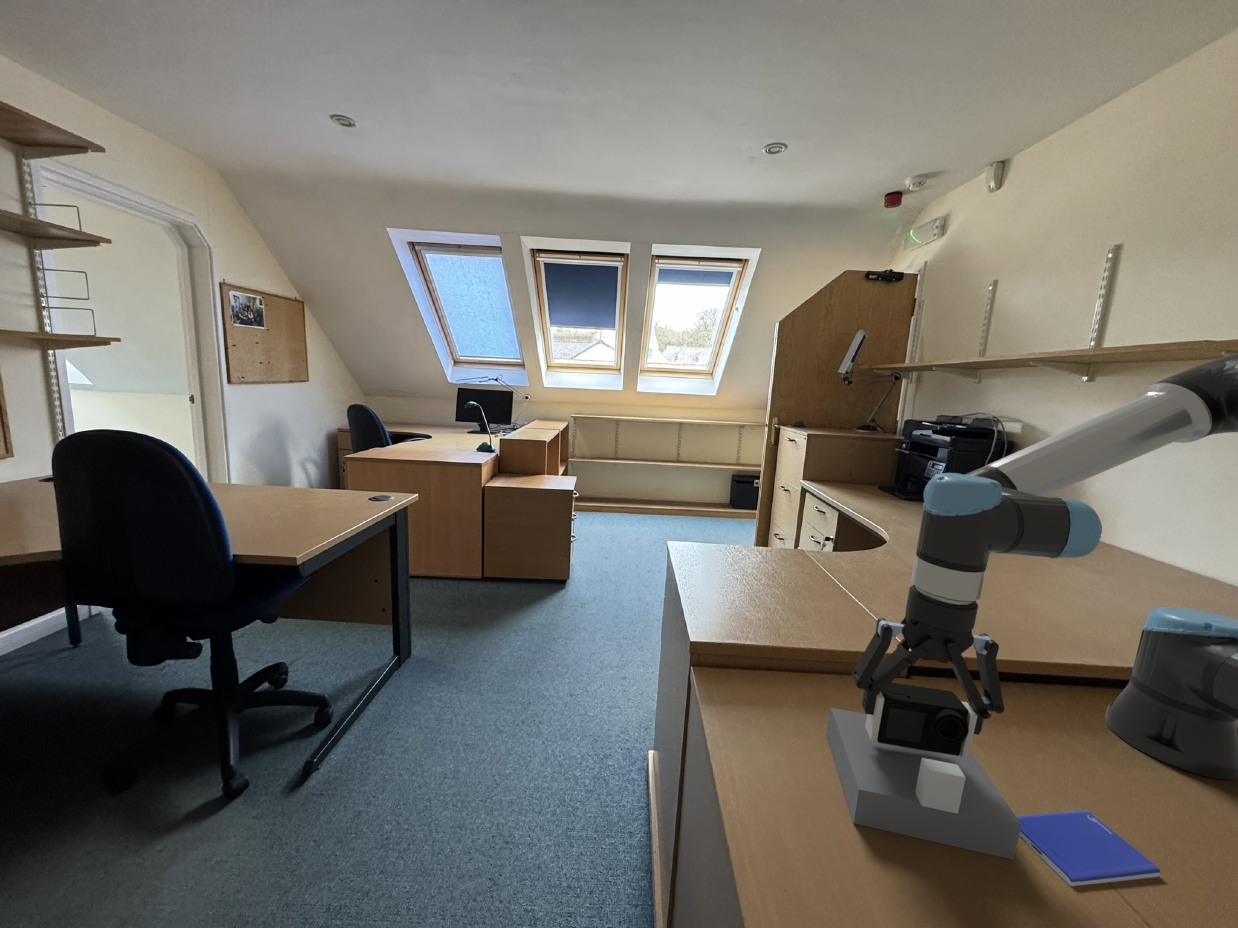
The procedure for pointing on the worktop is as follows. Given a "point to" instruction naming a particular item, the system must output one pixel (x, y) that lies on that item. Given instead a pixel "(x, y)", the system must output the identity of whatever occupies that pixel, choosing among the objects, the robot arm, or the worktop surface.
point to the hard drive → (1084, 848)
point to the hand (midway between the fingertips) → (914, 742)
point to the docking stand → (919, 791)
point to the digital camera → (923, 719)
